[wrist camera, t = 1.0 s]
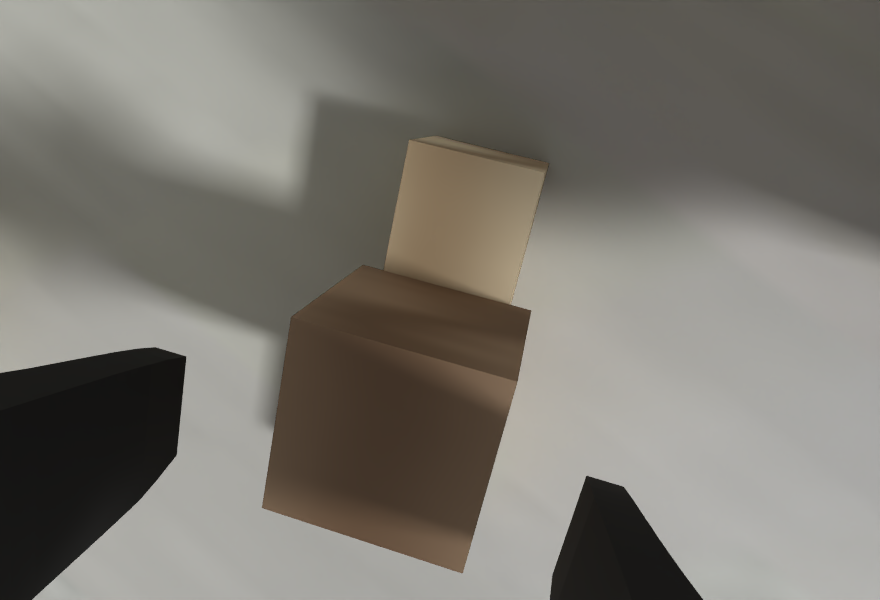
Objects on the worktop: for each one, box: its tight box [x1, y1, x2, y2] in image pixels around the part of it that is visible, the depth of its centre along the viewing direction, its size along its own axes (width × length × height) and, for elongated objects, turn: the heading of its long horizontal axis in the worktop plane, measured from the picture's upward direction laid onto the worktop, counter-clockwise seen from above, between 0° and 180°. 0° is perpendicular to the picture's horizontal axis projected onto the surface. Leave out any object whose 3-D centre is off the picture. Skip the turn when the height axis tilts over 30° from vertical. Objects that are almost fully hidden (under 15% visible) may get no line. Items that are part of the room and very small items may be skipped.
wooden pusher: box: [262, 136, 549, 573], centre depth 14 cm, size 4×10×7 cm, turn 167°
